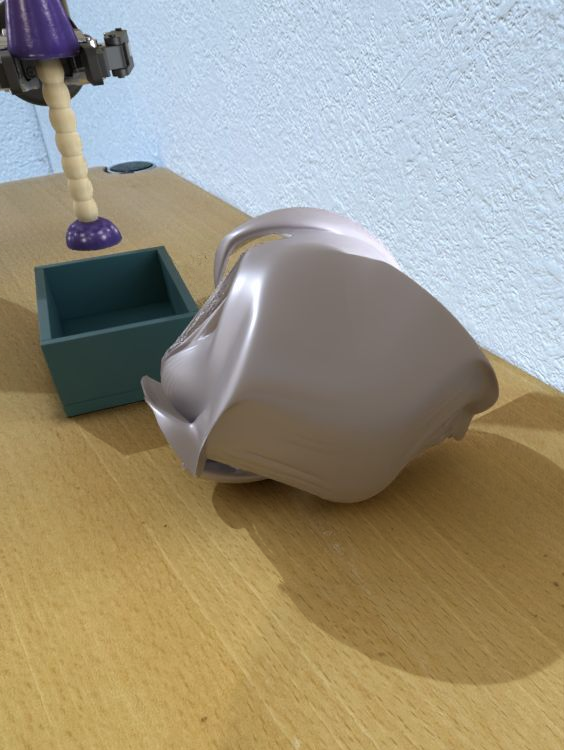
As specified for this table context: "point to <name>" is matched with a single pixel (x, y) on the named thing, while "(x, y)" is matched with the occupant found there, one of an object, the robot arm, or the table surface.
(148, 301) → the bin
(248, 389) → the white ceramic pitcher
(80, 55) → the robot arm
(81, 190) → the toy lamp
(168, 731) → the table surface
